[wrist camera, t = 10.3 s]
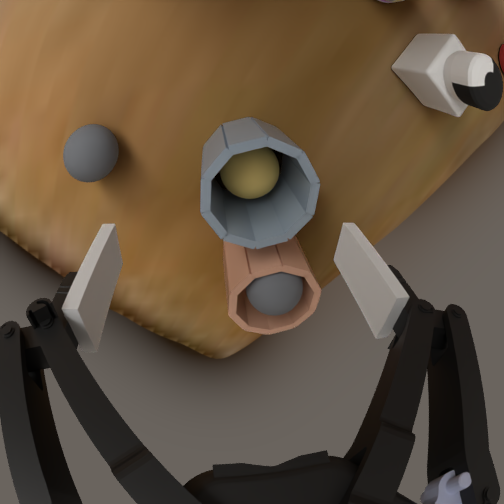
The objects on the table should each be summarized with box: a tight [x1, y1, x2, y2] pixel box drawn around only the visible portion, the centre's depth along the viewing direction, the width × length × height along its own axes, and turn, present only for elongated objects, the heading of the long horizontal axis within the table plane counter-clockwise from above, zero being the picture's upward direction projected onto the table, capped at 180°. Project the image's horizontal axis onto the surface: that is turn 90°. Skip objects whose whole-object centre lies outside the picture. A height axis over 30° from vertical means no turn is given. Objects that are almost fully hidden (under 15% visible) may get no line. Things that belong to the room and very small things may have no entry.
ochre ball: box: [220, 147, 279, 199], centre depth 29 cm, size 6×6×6 cm
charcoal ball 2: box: [246, 271, 303, 316], centre depth 31 cm, size 6×6×6 cm
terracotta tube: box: [223, 235, 321, 334], centre depth 35 cm, size 10×10×10 cm
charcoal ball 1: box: [63, 124, 119, 182], centre depth 26 cm, size 6×6×6 cm
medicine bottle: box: [391, 34, 503, 117], centre depth 22 cm, size 7×7×12 cm
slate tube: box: [200, 117, 320, 249], centre depth 28 cm, size 10×10×10 cm
